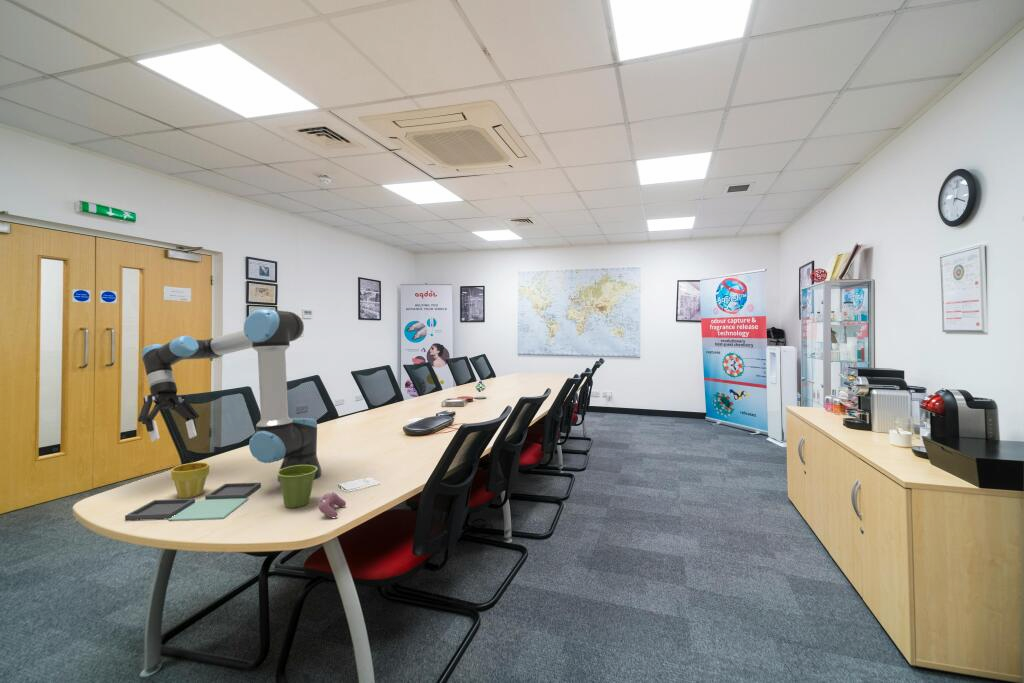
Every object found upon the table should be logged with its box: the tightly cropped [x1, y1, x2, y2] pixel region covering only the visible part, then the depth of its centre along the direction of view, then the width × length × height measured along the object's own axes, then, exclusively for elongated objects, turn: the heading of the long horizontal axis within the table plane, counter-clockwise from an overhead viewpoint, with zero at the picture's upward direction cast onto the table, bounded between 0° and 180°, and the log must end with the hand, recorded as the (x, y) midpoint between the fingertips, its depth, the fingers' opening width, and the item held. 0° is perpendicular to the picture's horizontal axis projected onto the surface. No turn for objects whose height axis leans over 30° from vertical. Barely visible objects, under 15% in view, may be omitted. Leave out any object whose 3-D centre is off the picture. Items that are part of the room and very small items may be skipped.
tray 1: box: [124, 498, 196, 521], centre depth 128 cm, size 12×12×2 cm
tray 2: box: [204, 482, 262, 500], centre depth 144 cm, size 12×12×2 cm
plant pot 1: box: [170, 461, 210, 499], centre depth 142 cm, size 10×10×10 cm
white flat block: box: [337, 476, 381, 491], centre depth 154 cm, size 2×8×12 cm
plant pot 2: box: [276, 465, 318, 509], centre depth 136 cm, size 12×12×11 cm
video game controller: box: [318, 491, 347, 518], centre depth 130 cm, size 10×5×7 cm, turn 5°
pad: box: [167, 497, 249, 521], centre depth 130 cm, size 15×15×1 cm
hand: (175, 438), depth 149 cm, fingers open, 13 cm apart
